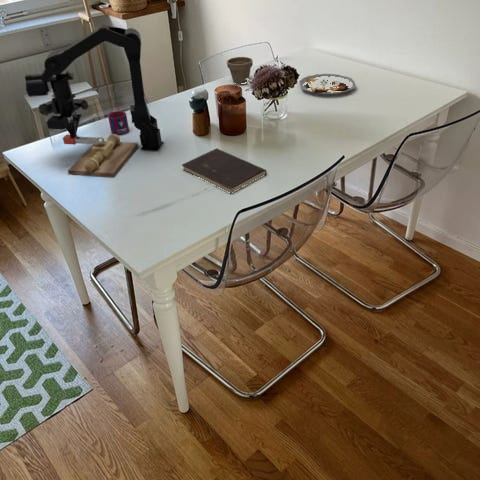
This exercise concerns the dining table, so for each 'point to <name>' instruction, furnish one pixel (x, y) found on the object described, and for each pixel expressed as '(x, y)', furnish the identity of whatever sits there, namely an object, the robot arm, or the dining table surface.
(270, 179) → the dining table surface
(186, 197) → the butter knife
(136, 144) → the valve board
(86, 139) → the lever
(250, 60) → the flower pot
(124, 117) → the mug
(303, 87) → the food plate
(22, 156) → the dining table surface
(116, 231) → the dining table surface
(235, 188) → the hardcover book
